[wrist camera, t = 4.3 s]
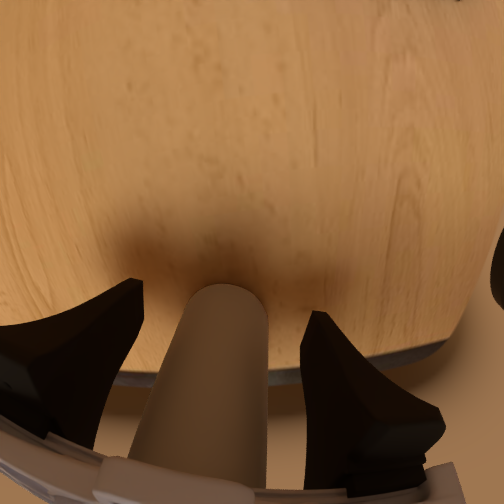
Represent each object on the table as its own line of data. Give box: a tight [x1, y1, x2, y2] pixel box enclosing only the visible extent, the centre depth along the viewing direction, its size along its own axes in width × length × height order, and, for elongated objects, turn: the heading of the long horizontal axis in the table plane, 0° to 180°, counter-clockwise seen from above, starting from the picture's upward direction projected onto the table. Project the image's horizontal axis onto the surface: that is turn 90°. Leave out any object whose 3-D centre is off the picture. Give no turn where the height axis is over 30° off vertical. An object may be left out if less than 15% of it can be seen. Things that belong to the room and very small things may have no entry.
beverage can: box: [127, 284, 269, 489], centre depth 11 cm, size 5×5×12 cm
